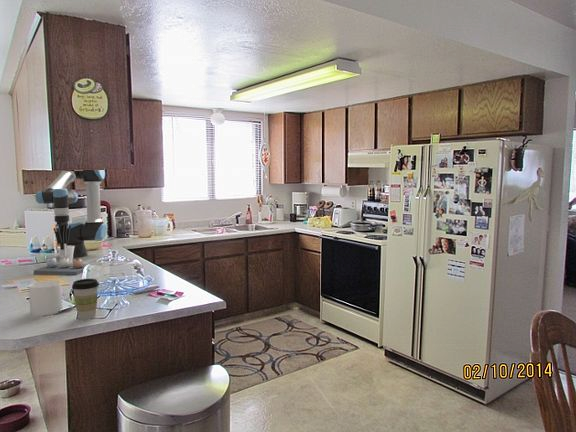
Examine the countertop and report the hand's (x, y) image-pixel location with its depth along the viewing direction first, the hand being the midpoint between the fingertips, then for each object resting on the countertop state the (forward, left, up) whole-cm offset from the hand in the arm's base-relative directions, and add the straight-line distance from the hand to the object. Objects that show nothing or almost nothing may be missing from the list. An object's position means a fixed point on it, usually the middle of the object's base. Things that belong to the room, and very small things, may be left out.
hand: (63, 254), depth 245 cm
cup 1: (+68, +37, -10) cm, 78 cm away
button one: (0, -8, -7) cm, 11 cm away
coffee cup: (+73, +58, -10) cm, 94 cm away
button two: (0, 0, -7) cm, 7 cm away
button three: (0, +8, -7) cm, 11 cm away
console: (0, 0, -10) cm, 10 cm away
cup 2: (-17, -10, -10) cm, 22 cm away
